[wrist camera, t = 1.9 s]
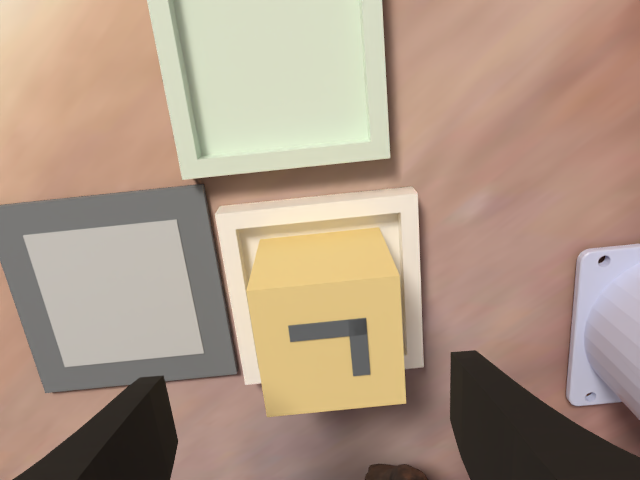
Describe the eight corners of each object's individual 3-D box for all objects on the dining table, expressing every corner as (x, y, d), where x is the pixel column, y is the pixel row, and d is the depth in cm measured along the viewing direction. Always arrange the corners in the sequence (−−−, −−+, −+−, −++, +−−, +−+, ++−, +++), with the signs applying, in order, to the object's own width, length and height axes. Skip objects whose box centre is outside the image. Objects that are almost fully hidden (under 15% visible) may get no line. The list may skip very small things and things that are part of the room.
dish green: (373, -75, 18) (377, -84, 16) (385, 152, 20) (390, 158, 19) (146, -50, 18) (135, -58, 17) (189, 173, 20) (182, 179, 19)
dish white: (411, 186, 21) (417, 193, 20) (418, 352, 23) (423, 367, 22) (220, 206, 21) (214, 214, 20) (248, 369, 24) (245, 384, 22)
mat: (203, 184, 20) (202, 185, 20) (237, 370, 24) (236, 374, 23) (-14, 206, 21) (-19, 208, 20) (48, 389, 24) (44, 393, 23)
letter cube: (379, 227, 21) (400, 276, 16) (385, 332, 23) (406, 404, 18) (259, 239, 21) (246, 292, 16) (275, 342, 23) (266, 418, 18)
